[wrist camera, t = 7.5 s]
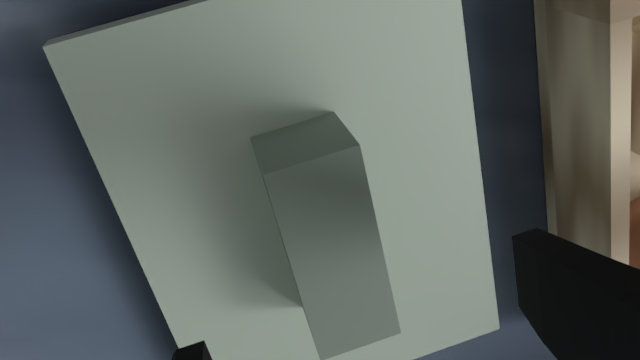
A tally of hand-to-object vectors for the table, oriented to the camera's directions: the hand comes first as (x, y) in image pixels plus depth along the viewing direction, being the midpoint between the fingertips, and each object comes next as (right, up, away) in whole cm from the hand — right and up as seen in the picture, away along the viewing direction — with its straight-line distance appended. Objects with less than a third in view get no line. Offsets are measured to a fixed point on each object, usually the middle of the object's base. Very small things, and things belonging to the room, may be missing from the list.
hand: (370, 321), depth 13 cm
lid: (-1, +2, +5) cm, 6 cm away
